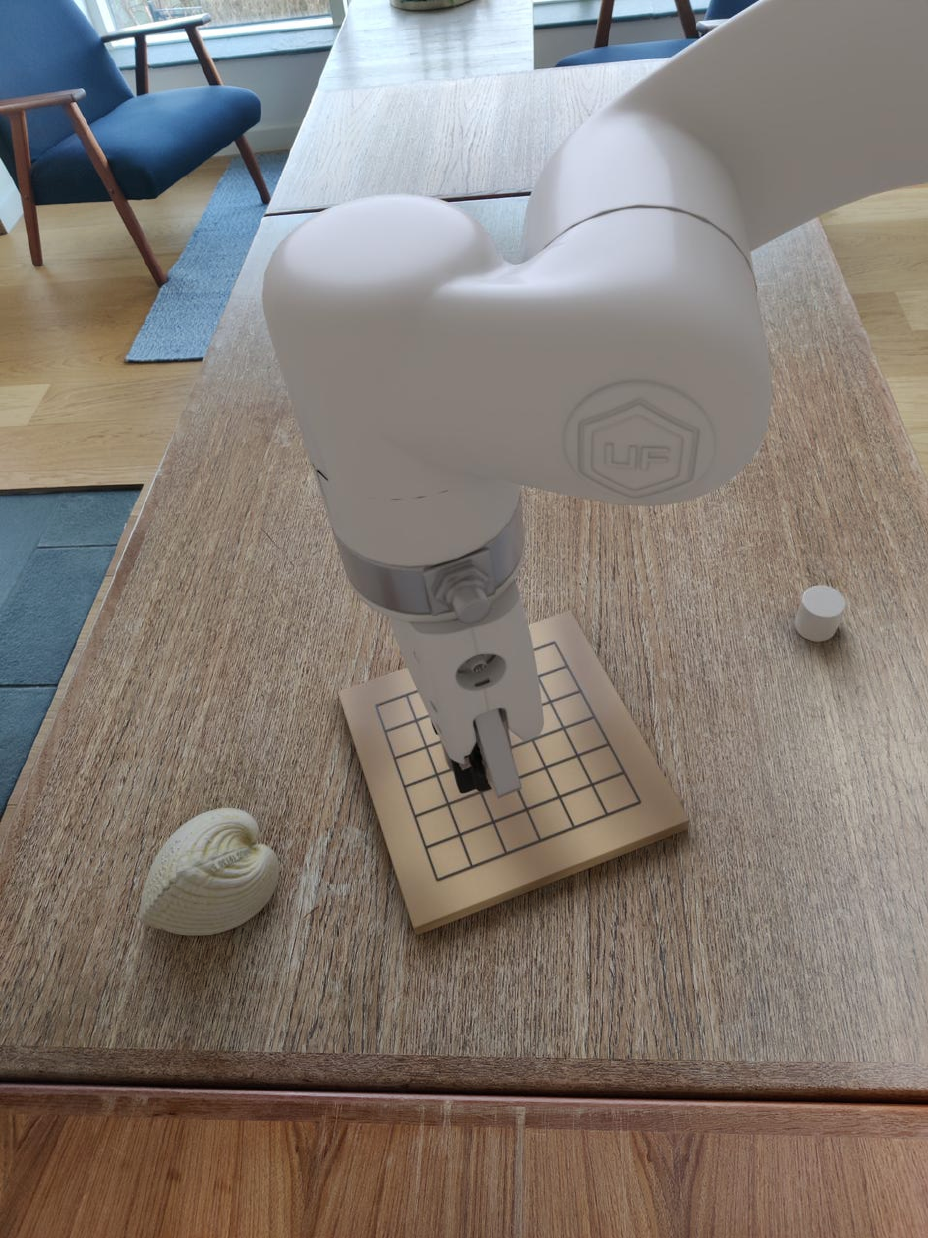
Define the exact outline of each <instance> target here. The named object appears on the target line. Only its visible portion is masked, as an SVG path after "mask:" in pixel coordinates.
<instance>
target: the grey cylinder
mask: <svg viewBox="0 0 928 1238" xmlns="http://www.w3.org/2000/svg"><path fill="white" fill-rule="evenodd" d="M846 606H847V603H846V599H845V597H844V595H843V594H842V593H841V592H840V591H838V590H837V589H835V588H834V587H831V586H828V585H813V586H811V587H809V588H807V589H806V590H805V591H804V592H803V593H802V596H801V599H800V603H799V604H798V607H797V608H798V609H797V611H796V615H795V618H794V621H793V623H794V628H795V631H796V632H797V633H798V634H799V635H800V636H801V637H802V638H804V639H805V640H808V641H811V642H816V643H820V642H826V641H828V640H830V639H832V638H833V637H834V636H835V635H836V633H837V630H838V627H839V625H840V622H841V620H842V618H843V615H844V612H845V610H846Z"/></svg>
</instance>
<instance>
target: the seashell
mask: <svg viewBox="0 0 928 1238" xmlns="http://www.w3.org/2000/svg"><path fill="white" fill-rule="evenodd" d="M259 834H260V827H259V823H258V822H257V820H256V819H255V817H254V816H252V815H251V814H250V813H249V812H247V811H245V810H242V809H240V808H235V807H221V808H220V807H219V808H215V809H211V810H208V811H205V812H202V813H200V814H198V815H196V816H194V817H193V818H191V819H189V820H188V821H185V822H184V823H183V824H182V825H181V826H180V827H178V828H177V829H176V830H175V831H174V832H173V834H171V836H169V838H167V840H166V841H165V843H164V844H163V846H162V847H161V849H159V851H158V853H157V855H156V856H155V858H154V860H153V862H152V864H151V865H150V868H149V870H148V874H147V876H146V879H145V882H144V885H143V890H142V893H141V898H140V907H139V908H140V909H139V912H138V913H139V914H138V920H139V922H140V924H143V925H145V926H148V927H151V928H154V929H156V930H162V931H165V932H168V933H171V934H175V935H181V936H198V937H199V936H201V937H202V936H213V935H218V934H221V933H223V932H227V931H230V930H232V929H235V928H238V927H239V926H241V925H243V924H245V923H246V922H248V921H250V920H251V919H252V918H254V917H255V916H256V915H258V914H259V913H260V912H261V911H262V910H263V908H264V907H265V906H266V905H267V904H268V902H269V901H270V900H271V898H272V896H273V895H274V893H275V890H276V889H277V886H278V882H279V879H280V878H279V877H280V862H279V858H278V856H277V854H276V852H275V851H274V850H273V849H272V848H271V846H269V845H267V844H265V843H256V841H257V839H258V837H259Z"/></svg>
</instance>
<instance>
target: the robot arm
mask: <svg viewBox="0 0 928 1238" xmlns="http://www.w3.org/2000/svg"><path fill="white" fill-rule="evenodd" d="M923 184H925V185H926V184H928V0H757V1H756V2H754V3H752V4H750V5H749V6H748V7H746V8H744V9H743V10H742V11H740V12H737V14H735V15H733V16H732V17H730V18H728V19H727V20H725V21H723V22H722V23H721V24H719V25H717V26H716V27H715V28H713V29H712V30H710V31H708V32H707V33H705V34H704V35H703V36H701V37H700V38H698V39H697V40H695V41H694V42H692V43H691V44H689V45H687V46H686V47H684V48H683V49H682V50H680V51H679V52H677V53H676V54H674V55H673V56H671V57H670V58H668V59H666V60H665V61H663V63H661V64H659V65H658V66H656V67H655V68H653V69H652V70H650V71H649V72H647V73H646V74H645V75H643V76H641V77H640V78H639V79H637V80H636V81H634V82H632V83H631V84H630V85H629V86H627V87H625V88H624V89H623V90H621V91H620V92H619V93H617V94H616V95H615V96H613V97H612V98H610V99H609V100H608V101H606V102H605V103H604V104H602V105H601V106H600V107H598V108H597V109H595V111H594V112H592V113H591V114H590V115H589V116H588V117H587V118H586V119H585V120H584V121H582V122H581V123H580V124H579V125H578V126H577V127H576V128H575V129H574V130H572V132H571V133H570V134H569V135H568V136H567V137H566V138H565V139H564V141H563V142H562V143H561V144H560V145H559V146H558V147H557V148H556V149H555V150H554V152H553V153H552V154H551V155H550V157H549V158H548V160H547V162H546V163H545V164H544V167H543V168H542V170H541V172H540V173H539V174H538V177H537V178H536V180H535V181H534V185H533V187H532V190H531V193H530V195H529V197H528V201H527V205H526V210H525V214H524V219H523V224H522V233H521V240H520V246H519V255H518V264H513V263H510V262H508V261H506V260H505V259H504V258H503V257H502V255H501V252H500V251H499V248H498V246H497V244H496V243H495V240H494V238H493V237H492V236H491V234H490V232H489V230H488V229H487V228H486V227H485V225H483V223H481V222H480V221H479V220H478V219H477V217H475V216H474V215H473V214H472V213H470V212H469V211H467V210H465V209H463V208H462V207H460V206H457V205H455V204H454V203H451V202H448V201H446V200H443V199H440V198H438V197H433V196H427V195H421V194H414V193H387V194H375V195H369V196H366V197H359V198H355V199H352V200H348V201H344V202H341V203H339V204H335V205H333V206H330V207H328V208H325V209H324V210H323V209H322V210H321V211H319V212H317V213H315V214H313V215H312V216H310V217H308V218H306V219H305V220H303V221H302V222H301V223H299V224H298V225H297V226H295V227H294V228H293V229H292V230H291V231H290V232H289V233H288V234H287V235H286V236H284V238H283V239H282V240H281V241H280V242H279V243H278V244H277V246H276V247H275V249H274V250H273V252H272V253H271V256H270V259H269V261H268V262H267V266H266V268H265V271H264V273H263V281H262V291H261V301H262V302H261V303H262V311H263V315H264V320H265V322H266V327H267V331H268V335H269V338H270V341H271V344H272V347H273V349H274V350H273V351H274V354H275V356H276V359H277V363H278V367H279V369H280V373H281V375H282V379H283V382H284V385H285V388H286V391H287V394H288V398H289V400H290V404H291V406H292V410H293V413H294V416H295V420H296V422H297V426H298V428H299V432H300V435H301V438H302V441H303V444H304V447H305V450H306V454H307V457H308V460H309V463H310V466H311V470H312V472H313V475H314V478H315V482H316V485H317V488H318V491H319V495H320V497H321V500H322V504H323V506H324V507H323V508H324V510H325V512H326V517H327V520H328V522H329V525H330V528H331V531H332V535H333V537H334V540H335V544H336V547H337V550H338V553H339V556H340V559H341V562H342V565H343V568H344V573H345V575H346V578H347V579H346V580H347V582H348V583H349V586H350V587H351V589H352V591H353V592H354V593H355V595H356V596H357V597H358V599H359V600H360V601H361V602H362V603H364V604H365V605H366V606H367V607H369V608H370V609H372V610H374V611H375V612H376V613H379V614H381V615H384V616H385V617H387V618H388V621H389V624H390V627H391V630H392V633H393V635H394V639H395V640H396V643H397V645H398V647H399V651H400V654H401V656H402V659H403V661H404V663H405V666H406V668H408V670H409V673H410V675H411V677H412V680H413V682H414V684H415V686H416V689H417V691H418V693H419V695H420V697H421V699H422V701H423V703H424V706H425V708H426V710H427V712H428V714H429V716H430V719H431V723H432V727H433V729H434V731H435V734H436V735H439V737H440V739H441V741H442V743H443V745H444V747H445V749H446V751H447V753H448V755H449V757H450V759H451V763H452V768H453V772H454V776H455V780H456V784H457V787H458V789H459V792H460V793H467V792H470V791H472V790H475V789H477V790H478V791H486V790H489V789H491V788H492V790H493V791H494V793H495V795H496V797H497V798H500V797H503V796H505V795H508V794H510V793H513V792H515V791H518V790H521V789H522V786H521V783H520V779H519V776H518V772H517V769H516V765H515V762H514V759H513V754H512V746H511V740H510V734H509V730H510V731H512V732H513V733H514V734H515V735H516V736H518V737H519V738H520V739H522V740H523V741H528V740H530V739H532V738H534V737H536V736H538V735H540V734H541V732H542V730H543V726H544V714H543V707H542V699H541V692H540V685H539V679H538V672H537V666H536V660H535V654H534V649H533V644H532V639H531V634H530V630H529V626H528V625H529V622H528V617H527V614H526V610H525V607H524V603H523V601H522V596H521V593H520V590H519V586H518V583H517V581H516V578H517V576H518V575H519V573H520V570H521V568H522V565H523V563H524V558H525V553H526V542H525V529H524V516H523V513H524V512H523V501H522V500H523V499H522V487H521V486H524V487H528V488H533V489H537V490H541V491H546V492H550V493H555V494H559V495H563V496H566V497H567V496H568V497H573V498H577V499H582V500H586V501H592V502H598V503H599V502H600V503H604V504H605V503H606V504H611V505H618V506H620V505H621V506H636V507H637V506H639V507H655V506H656V507H657V506H664V505H666V506H667V505H673V504H679V503H683V502H688V501H693V500H694V499H697V498H700V497H703V496H705V495H709V494H710V493H713V492H714V491H716V490H718V489H719V488H721V487H723V486H724V485H726V484H727V483H729V482H730V481H732V480H733V479H734V478H735V477H736V476H738V475H739V473H740V472H742V471H743V470H744V469H745V468H746V466H747V465H748V464H749V463H750V462H751V460H752V459H753V457H754V456H755V454H756V452H758V450H759V448H760V446H761V444H762V441H763V440H764V438H765V435H766V433H767V429H768V425H769V422H770V416H771V412H772V405H773V384H772V381H773V380H772V376H773V375H772V366H771V361H770V355H769V347H768V343H767V342H768V341H767V337H766V332H765V328H764V327H765V326H764V323H763V318H762V313H761V308H760V302H759V298H758V297H759V296H758V284H757V279H756V275H755V270H754V265H753V259H752V255H751V252H753V251H755V250H757V249H759V248H761V247H763V246H764V245H766V244H769V243H770V242H772V241H773V240H775V239H777V238H779V237H781V236H783V235H785V234H786V233H788V232H791V231H792V230H794V229H796V228H798V227H800V226H802V225H804V224H806V223H808V222H810V221H812V220H814V219H816V218H819V217H821V216H823V215H825V214H828V213H829V212H832V211H834V210H837V209H839V208H841V207H844V206H846V205H849V204H851V203H854V202H857V201H861V200H863V199H865V198H868V197H870V196H874V195H878V194H882V193H886V192H890V191H894V190H897V189H901V188H907V187H911V186H917V185H918V186H919V185H923ZM508 728H509V729H508Z"/></svg>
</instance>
